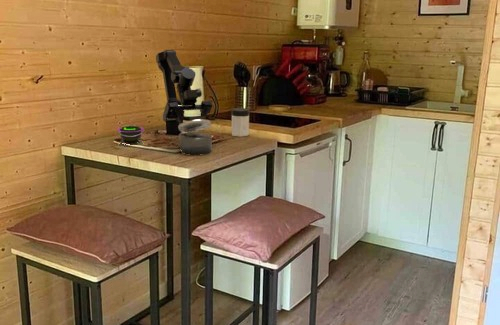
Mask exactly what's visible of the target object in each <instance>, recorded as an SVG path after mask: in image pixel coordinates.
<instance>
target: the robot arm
mask: <svg viewBox="0 0 500 325" xmlns="http://www.w3.org/2000/svg"><path fill="white" fill-rule="evenodd" d="M155 62H156V64H157V66H158V69H159V70H160V71H161V72H162V75H163V77H162V78H163V83H164V89H165V95H166V103H165V106H164V111H163V113H162V120H163V121H164V123H165V133H164V135H165V136H167V135H169V136H180V135H181V134H183V132H182V131H179V129H178V126H179V125H180V124H181V123H184V118H185V117H184V116H185V111H199V112H200V116H205V118H206V117H207V115H208V114H210V113H211V110H212V108H213V102H212V101H211V100H202V101H201V103H200V104H196V103H197V102H198V100H197V99H198V98H201V97H202V95H203V93H202V88H196V89H192V86H193V85H194V81H195V78H196V72H195V70H193V69H192V68H190V66H183V65H182V63H181V62H180V59H179V58H178V56H177V52H176V50H175V49H165V50H163V51H161V52H158V53H157V54H156V56H155ZM175 84H176V86H175ZM177 94H178V96H177ZM177 97H178V98H179V99H178V98H177ZM206 119H207V118H206Z"/></svg>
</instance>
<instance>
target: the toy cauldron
mask: <svg viewBox="0 0 500 325" xmlns="http://www.w3.org/2000/svg"><path fill="white" fill-rule="evenodd" d="M132 122H133V120H132V121H130V123H132ZM137 123H138V125H140V123H139V122H137V121H136V124H137ZM120 125H121V126H122V125H123V123H120ZM143 133H145V128H144V127H142V126H137V125H135V124H133V125H128V124H124V125H123V126H122V127H118V128H117V134H118V135H119V136H120V139H121V141H120V142H121V143H120V144H118V145H119V146H124V147H128V145H126V144H130V145H142V144H144V143H142V142H143V140H141V137H142V134H143ZM123 142H125V143H126V144H125V145H124V144H122V143H123ZM137 142H138V143H137Z"/></svg>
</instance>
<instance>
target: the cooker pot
mask: <svg viewBox="0 0 500 325" xmlns="http://www.w3.org/2000/svg"><path fill="white" fill-rule="evenodd" d="M178 136H179V150H180V149H181V150H182V152H183V153H185V154H184V155H186V154H190V155H189V156H201V155H200V154H204V155H208V154H210V153H212V152H213V150H212V148H213V147H212V146H213V145H212V144H213V142H212V139H213V138H212V134H211V133H207V132H201V131H193V132H182V133H180V134H179V135H178Z"/></svg>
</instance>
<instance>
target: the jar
mask: <svg viewBox="0 0 500 325" xmlns="http://www.w3.org/2000/svg"><path fill="white" fill-rule="evenodd" d="M231 136H233V137H238V138H239V137H240V138H241V137H248V136H250V109H249V108H247V107H246V108H245V107H236V108H231Z"/></svg>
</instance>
